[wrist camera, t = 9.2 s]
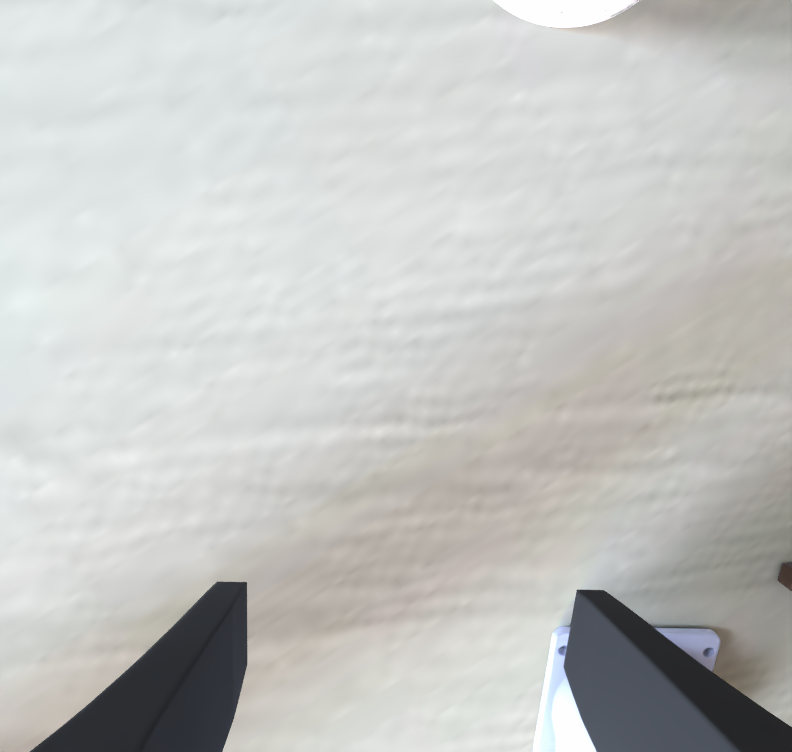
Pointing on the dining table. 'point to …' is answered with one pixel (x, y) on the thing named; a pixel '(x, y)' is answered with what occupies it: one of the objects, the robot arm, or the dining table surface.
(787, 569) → the walnut bay
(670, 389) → the dining table surface
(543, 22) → the teacup with lid
